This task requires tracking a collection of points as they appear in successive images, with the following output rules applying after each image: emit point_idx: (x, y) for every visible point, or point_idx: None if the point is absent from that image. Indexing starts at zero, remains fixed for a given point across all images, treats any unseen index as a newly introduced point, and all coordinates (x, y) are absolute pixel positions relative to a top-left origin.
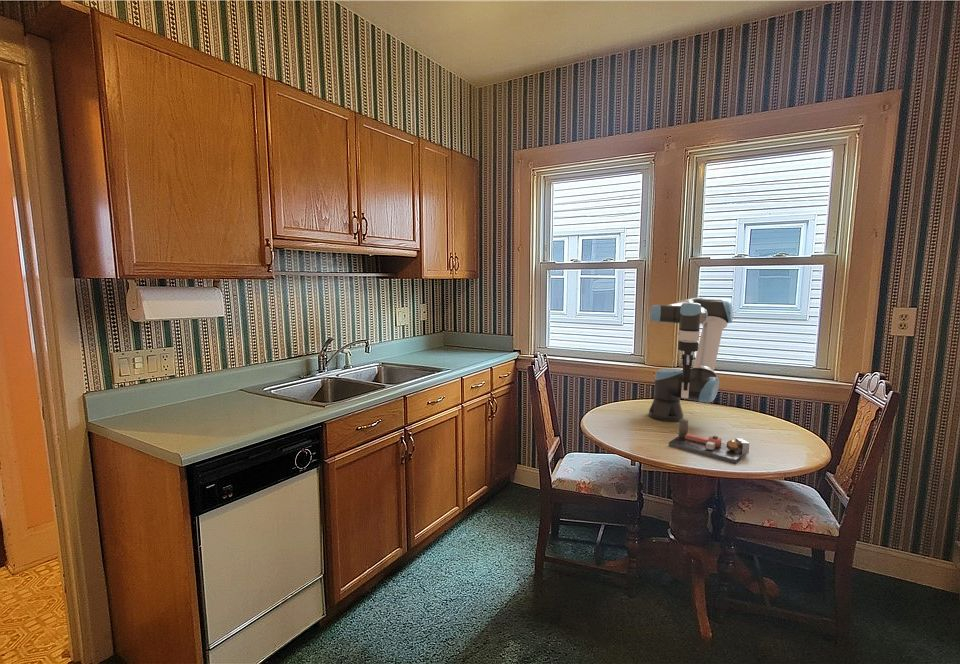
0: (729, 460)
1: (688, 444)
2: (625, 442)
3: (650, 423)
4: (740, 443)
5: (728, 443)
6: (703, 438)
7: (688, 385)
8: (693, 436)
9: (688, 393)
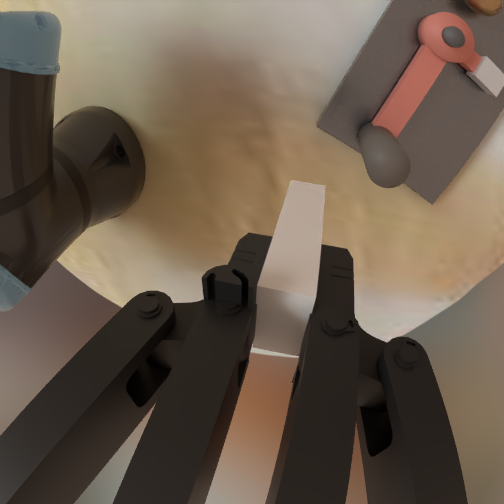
0: None
1: (448, 139)
2: (398, 304)
3: (187, 214)
4: None
5: (494, 13)
6: (426, 73)
7: (317, 274)
8: (409, 109)
9: (322, 209)
